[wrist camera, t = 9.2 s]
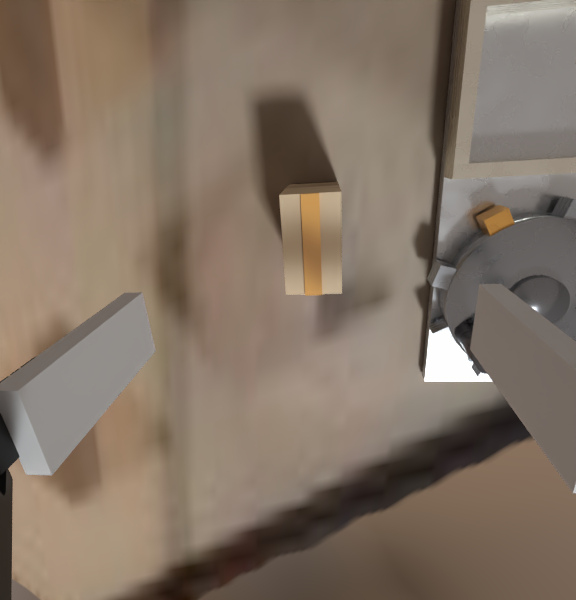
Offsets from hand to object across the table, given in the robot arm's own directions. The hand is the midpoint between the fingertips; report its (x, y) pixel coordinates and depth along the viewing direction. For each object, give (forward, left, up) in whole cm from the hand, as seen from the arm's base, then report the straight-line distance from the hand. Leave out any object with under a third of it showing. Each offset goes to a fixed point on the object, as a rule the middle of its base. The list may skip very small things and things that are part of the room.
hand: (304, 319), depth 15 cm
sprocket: (+6, +17, -17) cm, 25 cm away
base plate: (0, +17, -18) cm, 25 cm away
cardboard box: (0, 0, -18) cm, 18 cm away
